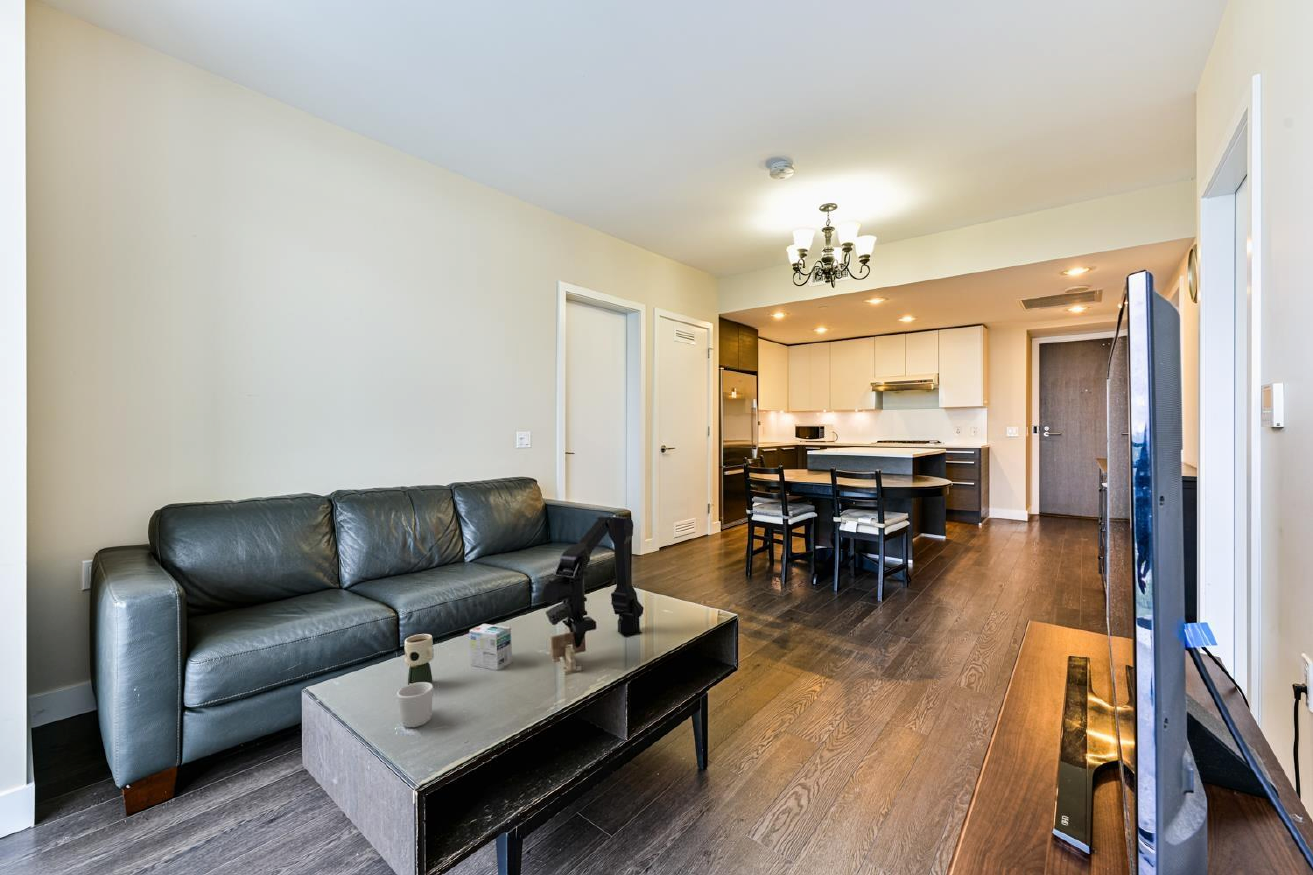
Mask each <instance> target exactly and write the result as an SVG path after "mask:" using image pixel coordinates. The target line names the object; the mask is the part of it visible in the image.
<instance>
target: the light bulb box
mask: <svg viewBox="0 0 1313 875" xmlns="http://www.w3.org/2000/svg"><path fill="white" fill-rule="evenodd" d="M469 647H470V648H469V650H470V651H469V653H470V654H469V655H470V666H471V667H473V666H474V667H479V668H483V669H489V670H493V671H499V670H501V669H503V668H504V667H506V666H508V665H509V664H512V663H513V649H512V647H513V646H512V627H510V626H503V625H495V624H488V623H482V624H480V625H478V626H475V627H473V628H471V629H469Z"/></svg>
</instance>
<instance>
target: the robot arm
mask: <svg viewBox="0 0 1313 875" xmlns="http://www.w3.org/2000/svg"><path fill="white" fill-rule="evenodd" d="M607 534H608V537H609V538H610V540H611V542H612V544H613V550H614V564H615V565H614V567H615V581H616V583H615V584H616V587H615V589H614V590H613V592H611V593H610V599H611V602H610V604H611V606H612V608H613V612H614V615H616V616H617V615H618V619H617V630H616V632H618V633H619V634H620V635H621V636H623V637H626V638H627V637H630V636H634V635H639V634H642V633H643V632H642V630H640V626H641V625H640V617H642V615H643V614H644V606H643V605H642V604H641V603H640V602H639V600H638V594H637V591H636V590H635V588H634V586H633V585H632V572H631V559H630V558H631V557H630V541H631V539H632V537H633V536H634V521H633V519H631V517H627V516H626V517H625V516H624V517H623V516H604V515H601V516H598V517H597V518H596V519H595V522H594V524H593V525H591V527H590V528H589V530H587V532H586V533H585V534H584V536H583V537H582V538H581V539H580V540H579V542H577V543H576V544H575V545H572V546H570V547H568V548H566V550H565V551H563V553H562V554H561V556H560V557H559V561H558V563H557V566H556V569H555V571H554V573H553V577H550V578H548V583H547V584H545V586H544V588H543V596H544V599H545V600H546V602H547V603H548V604H552V605H553V604H556V605H555V606H552V607H551V608H550V609H548V610H546V612H545V615H546V616H547V619H548V621H549V623H550V624H551V625H552V626H556V625H558V624H559V623H560V622H562V623H563V624H564V625H565V626H566V627H567V628H568V631H569V633H571V632H573V635H574V641H575V646H576V648H578V647H580V645H581V643H582V640H583V638H584V636H585V637H586V633H587V632H589V631H594V630H597V628H598V627H597V621H596V620H595V619H594V618H592V617H590V616H588V611H587V610H586V602H588V597H587V596H585V595H586V594H585V577H588V576H589V573H588V572H587V571H586V568H587V567H588V565H589V564H590V561H591V554H592V553H593V551H594V550H595V549H596V547H597V546H598V545H599V544H600V542H601V541H602V540H603V539H604V537H605V536H606V535H607ZM561 601H562V602H561ZM558 602H561V603H559V604H557V603H558Z"/></svg>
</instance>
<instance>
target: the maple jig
mask: <svg viewBox="0 0 1313 875" xmlns="http://www.w3.org/2000/svg"><path fill="white" fill-rule="evenodd" d="M551 660H552V662H554V663H555V662H560V663H561V664H562V665H563V666H564V667H565V668H564V669H562V673H563V674H564V675H569V674H572V673H577V672H578V673H579V672H581V671H582V666H580V665H578V666H576V654H575V651H574V650H573V649H572V647H571V646H570V645H566V646H565V656H563V657H559V658H555V659H553V658H552V657H551Z"/></svg>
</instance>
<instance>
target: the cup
mask: <svg viewBox="0 0 1313 875" xmlns="http://www.w3.org/2000/svg"><path fill="white" fill-rule="evenodd" d="M433 697H434V685H433V684H432V682H431V683H427V682H418V683H413V684H409V685H408V684H407V685H404V686H402V687H401V688H400V689H399V690H398V691H397V693H396V698H397V699H396V700H397V705H398V710H399V711H398V712H399V717H400V722H401V724H402V725H403V727H405V728H408V727H413V728H417V727H422V726H424V725H425V724H426V723H428V722H429V721H430V719H431V718H432V711H433Z"/></svg>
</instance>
